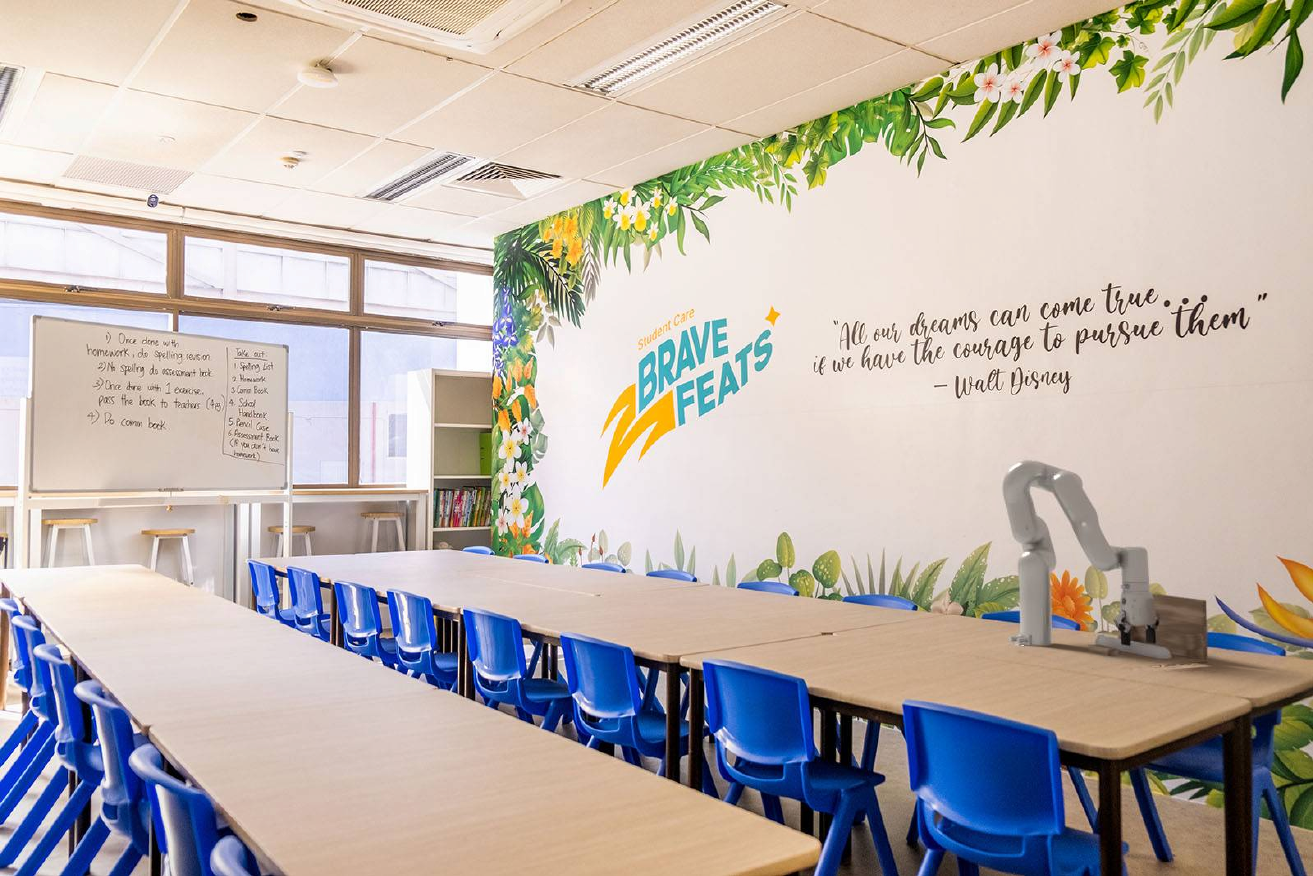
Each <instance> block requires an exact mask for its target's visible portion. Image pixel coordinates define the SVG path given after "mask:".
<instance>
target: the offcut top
mask: <svg viewBox="0 0 1313 876" xmlns="http://www.w3.org/2000/svg"><path fill="white" fill-rule="evenodd" d="M1090 652H1092V653H1091V654H1094V653H1096V654H1095V655H1099V654H1100V655H1099V656H1103V655H1105V656H1104V657H1108V656H1119V655H1120V654H1119V652H1120V651H1119V649H1117V648H1113V647H1108V646H1104V645H1100V644H1098V645H1095V644H1088V653H1090Z"/></svg>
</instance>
